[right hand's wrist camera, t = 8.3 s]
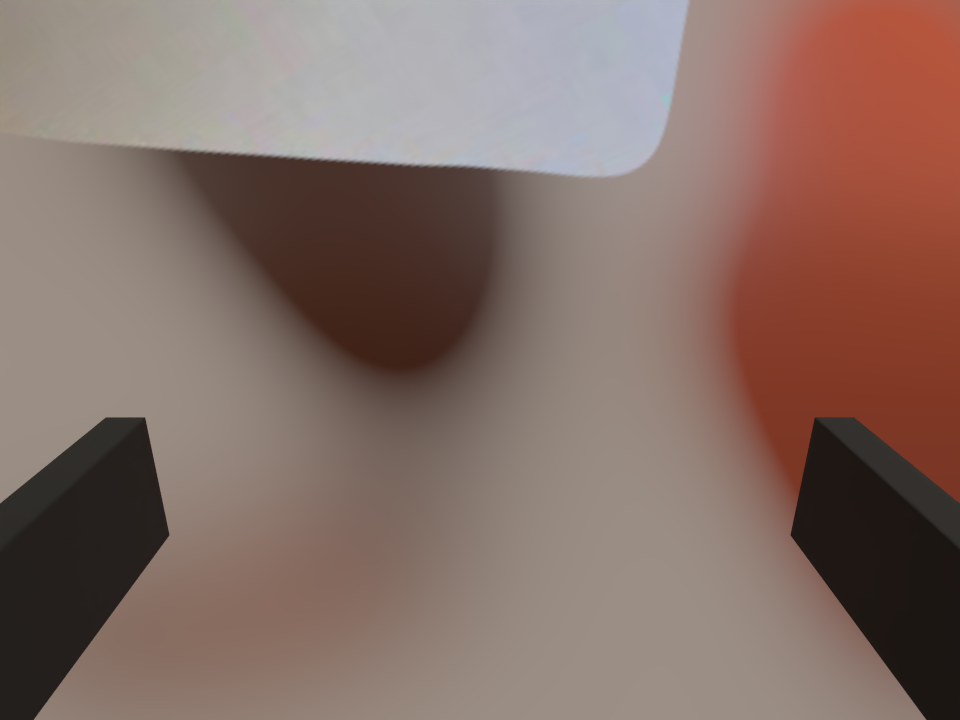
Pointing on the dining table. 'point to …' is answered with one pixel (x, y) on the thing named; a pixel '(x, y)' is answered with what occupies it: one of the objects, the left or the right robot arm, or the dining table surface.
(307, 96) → the dining table surface
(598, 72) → the dining table surface
